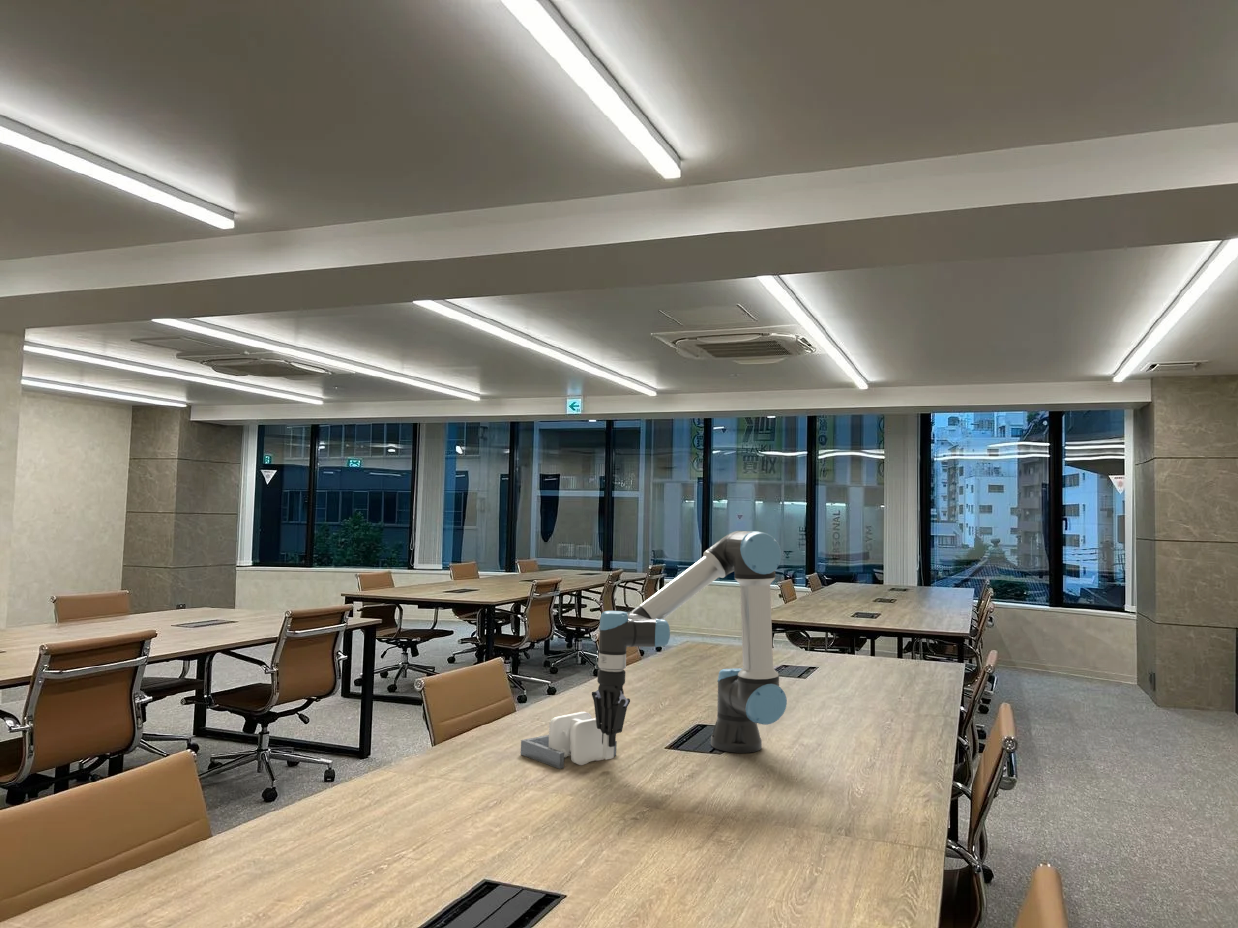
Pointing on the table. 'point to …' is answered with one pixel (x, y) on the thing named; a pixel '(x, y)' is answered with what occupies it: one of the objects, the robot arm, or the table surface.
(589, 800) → the table surface
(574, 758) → the cable organizer
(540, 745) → the bracket
